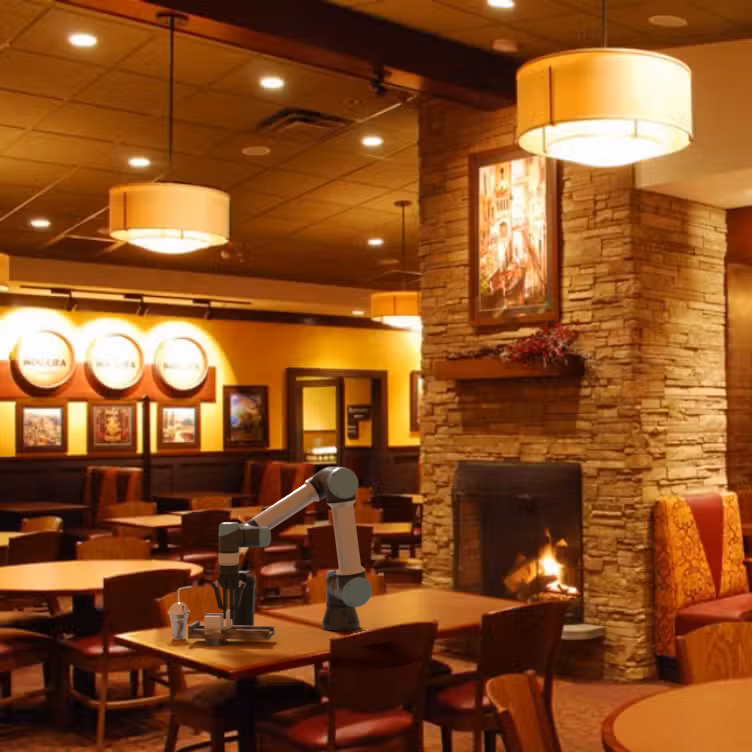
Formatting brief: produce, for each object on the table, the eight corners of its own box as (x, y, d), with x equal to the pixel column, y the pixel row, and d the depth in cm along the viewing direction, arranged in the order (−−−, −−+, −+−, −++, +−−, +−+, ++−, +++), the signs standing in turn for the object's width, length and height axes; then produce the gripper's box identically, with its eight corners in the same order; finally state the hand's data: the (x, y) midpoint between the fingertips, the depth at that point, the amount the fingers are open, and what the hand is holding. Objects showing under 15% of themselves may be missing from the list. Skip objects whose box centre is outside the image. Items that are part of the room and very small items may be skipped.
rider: (223, 630, 418) (223, 612, 419) (220, 633, 413) (220, 614, 413) (208, 630, 419) (208, 612, 419) (204, 632, 414) (204, 614, 414)
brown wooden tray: (275, 640, 420) (275, 621, 420) (268, 646, 407) (268, 627, 407) (197, 639, 423) (197, 620, 423) (187, 645, 410) (187, 626, 411)
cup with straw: (176, 635, 430) (176, 583, 431) (195, 637, 426) (195, 584, 427) (162, 639, 423) (163, 586, 424) (182, 641, 419) (182, 587, 420)
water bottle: (258, 627, 447) (258, 569, 448) (252, 632, 437) (252, 573, 438) (233, 627, 448) (233, 569, 449) (227, 632, 438) (227, 573, 439)
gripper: (248, 563, 420) (248, 626, 418) (214, 562, 421) (214, 626, 420) (243, 565, 412) (243, 630, 411) (209, 565, 414) (208, 629, 412)
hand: (228, 627), depth 415 cm, fingers closed
